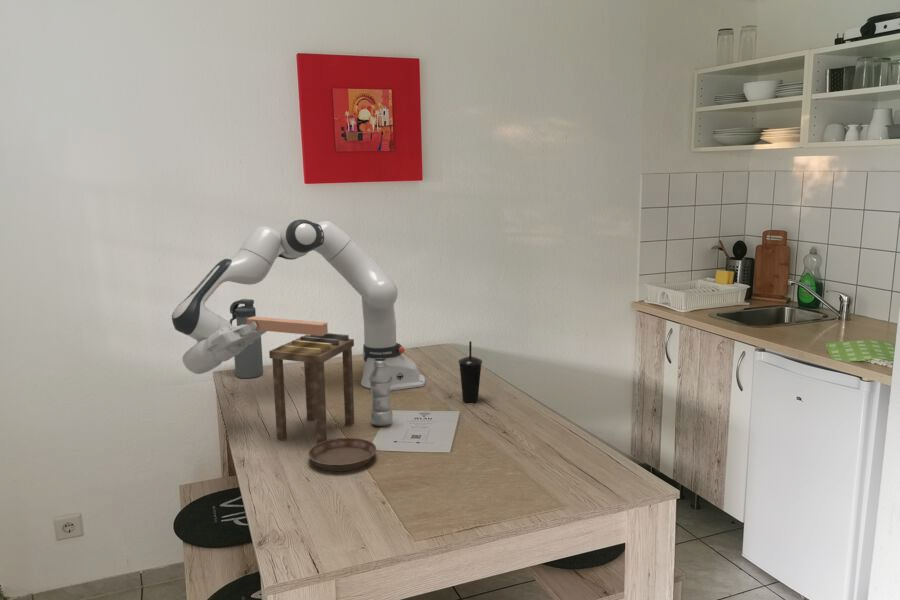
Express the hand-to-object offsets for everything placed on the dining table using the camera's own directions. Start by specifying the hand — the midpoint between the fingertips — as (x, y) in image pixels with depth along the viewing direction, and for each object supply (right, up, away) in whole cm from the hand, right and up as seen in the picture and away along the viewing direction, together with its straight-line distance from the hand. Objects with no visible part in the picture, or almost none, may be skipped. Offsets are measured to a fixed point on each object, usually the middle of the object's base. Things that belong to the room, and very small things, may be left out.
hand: (261, 322), depth 198 cm
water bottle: (-21, -21, +61) cm, 67 cm away
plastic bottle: (+33, -31, +12) cm, 47 cm away
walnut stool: (+14, -32, +7) cm, 36 cm away
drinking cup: (+60, -27, +31) cm, 73 cm away
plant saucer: (+25, -36, -12) cm, 46 cm away
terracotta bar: (+8, -2, -2) cm, 8 cm away
